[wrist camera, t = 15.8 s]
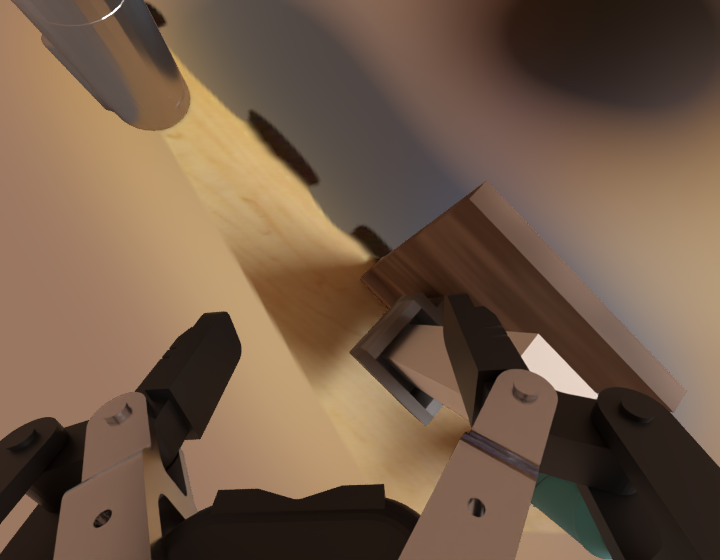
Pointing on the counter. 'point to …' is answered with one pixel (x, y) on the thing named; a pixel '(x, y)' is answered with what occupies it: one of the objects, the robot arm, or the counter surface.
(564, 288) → the cup bracket
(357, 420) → the counter surface
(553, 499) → the beverage bottle
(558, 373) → the beige tall block
